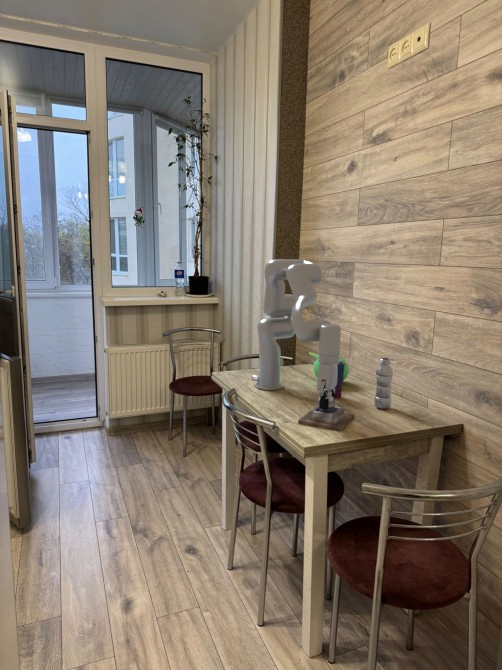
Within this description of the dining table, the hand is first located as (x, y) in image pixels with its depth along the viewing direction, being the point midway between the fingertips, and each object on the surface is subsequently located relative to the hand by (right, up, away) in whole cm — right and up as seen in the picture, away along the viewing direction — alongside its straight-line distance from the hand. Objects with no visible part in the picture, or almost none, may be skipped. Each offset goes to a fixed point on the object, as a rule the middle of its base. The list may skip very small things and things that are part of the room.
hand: (327, 405), depth 173 cm
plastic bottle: (+24, -3, +15) cm, 29 cm away
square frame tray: (0, -5, +1) cm, 6 cm away
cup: (+8, -1, +29) cm, 30 cm away
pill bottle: (0, -4, +1) cm, 4 cm away
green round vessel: (+9, +3, +50) cm, 51 cm away
